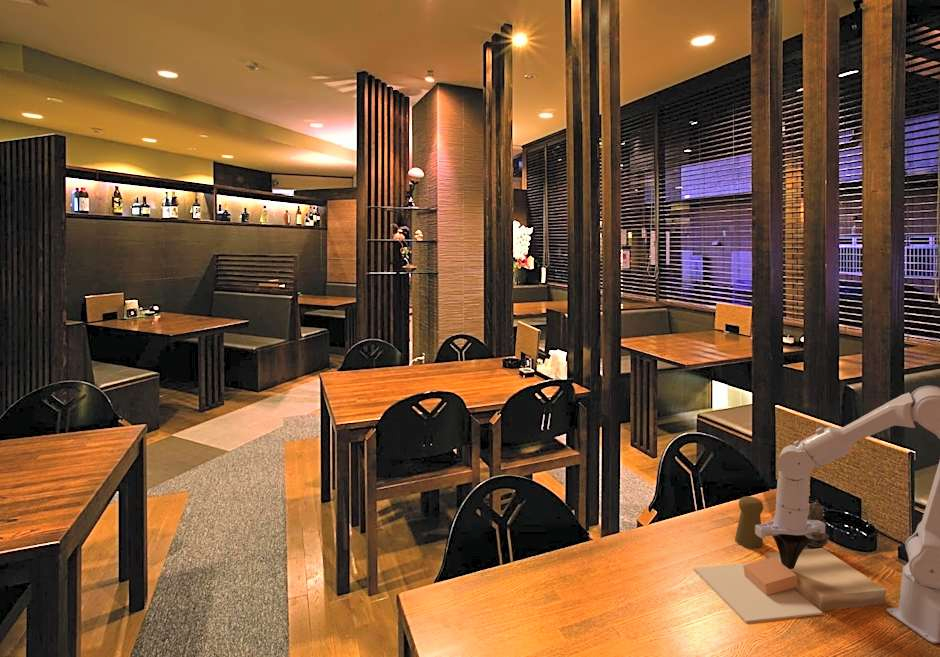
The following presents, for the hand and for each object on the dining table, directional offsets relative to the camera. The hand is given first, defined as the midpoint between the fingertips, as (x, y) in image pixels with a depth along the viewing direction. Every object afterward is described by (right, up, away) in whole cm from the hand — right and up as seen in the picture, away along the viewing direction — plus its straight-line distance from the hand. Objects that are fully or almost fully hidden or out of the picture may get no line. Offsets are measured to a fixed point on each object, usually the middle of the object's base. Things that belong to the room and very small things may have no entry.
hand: (787, 566), depth 115 cm
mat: (-8, -4, -2) cm, 9 cm away
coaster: (-4, -2, 0) cm, 4 cm away
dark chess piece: (+14, -2, +15) cm, 21 cm away
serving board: (+7, -4, +1) cm, 8 cm away
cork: (+1, -2, +18) cm, 18 cm away
